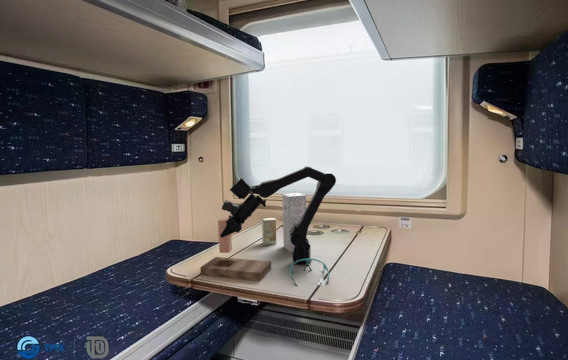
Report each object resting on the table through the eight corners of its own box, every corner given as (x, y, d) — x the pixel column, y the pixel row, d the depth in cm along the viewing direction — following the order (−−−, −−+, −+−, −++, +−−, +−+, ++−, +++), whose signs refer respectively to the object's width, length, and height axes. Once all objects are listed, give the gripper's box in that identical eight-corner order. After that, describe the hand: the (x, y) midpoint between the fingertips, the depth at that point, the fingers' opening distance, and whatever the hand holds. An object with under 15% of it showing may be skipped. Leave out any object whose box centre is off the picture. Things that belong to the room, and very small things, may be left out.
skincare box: (264, 245, 166) (263, 220, 164) (262, 242, 170) (261, 218, 168) (277, 244, 167) (276, 219, 166) (274, 241, 171) (274, 217, 170)
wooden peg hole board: (271, 268, 135) (271, 261, 134) (260, 281, 123) (260, 272, 123) (216, 263, 142) (215, 256, 141) (200, 274, 130) (200, 267, 130)
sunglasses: (325, 269, 133) (325, 257, 132) (332, 289, 119) (332, 276, 118) (289, 270, 133) (288, 258, 132) (291, 291, 118) (291, 278, 117)
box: (289, 251, 155) (288, 196, 152) (283, 246, 163) (282, 194, 160) (307, 249, 158) (306, 195, 155) (300, 244, 166) (299, 192, 163)
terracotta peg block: (231, 249, 141) (230, 218, 139) (229, 252, 137) (227, 220, 135) (222, 249, 141) (220, 218, 140) (219, 252, 137) (218, 220, 136)
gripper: (235, 190, 146) (210, 216, 147) (230, 197, 127) (202, 227, 128) (254, 207, 147) (230, 234, 148) (253, 217, 129) (224, 247, 129)
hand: (221, 235), depth 138 cm, fingers closed on terracotta peg block, 4 cm apart
